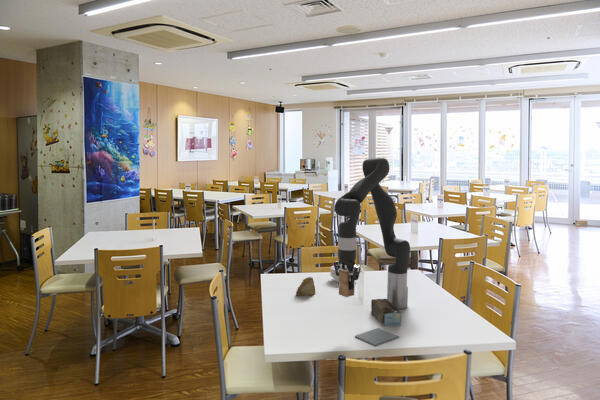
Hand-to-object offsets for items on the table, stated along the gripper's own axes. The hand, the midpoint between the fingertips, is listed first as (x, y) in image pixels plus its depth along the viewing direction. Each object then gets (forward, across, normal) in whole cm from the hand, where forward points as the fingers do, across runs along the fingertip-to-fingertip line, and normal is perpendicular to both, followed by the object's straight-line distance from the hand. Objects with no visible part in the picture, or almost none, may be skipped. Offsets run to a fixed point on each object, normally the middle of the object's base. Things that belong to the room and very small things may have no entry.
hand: (346, 288), depth 188 cm
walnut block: (+3, 0, 0) cm, 3 cm away
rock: (+19, +49, -18) cm, 56 cm away
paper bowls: (+19, +56, -52) cm, 79 cm away
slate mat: (+19, -12, -6) cm, 23 cm away
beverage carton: (+19, 0, -25) cm, 32 cm away
